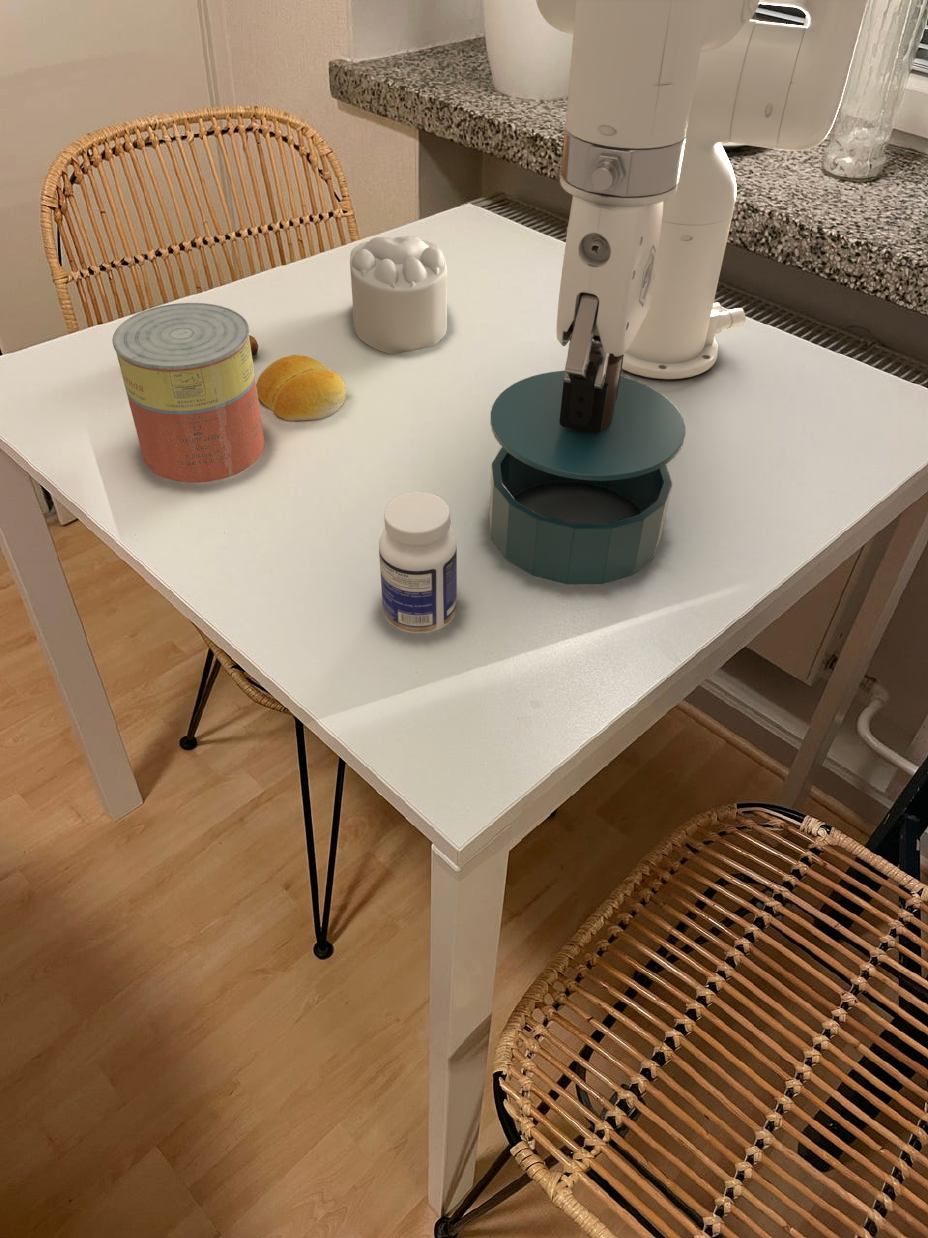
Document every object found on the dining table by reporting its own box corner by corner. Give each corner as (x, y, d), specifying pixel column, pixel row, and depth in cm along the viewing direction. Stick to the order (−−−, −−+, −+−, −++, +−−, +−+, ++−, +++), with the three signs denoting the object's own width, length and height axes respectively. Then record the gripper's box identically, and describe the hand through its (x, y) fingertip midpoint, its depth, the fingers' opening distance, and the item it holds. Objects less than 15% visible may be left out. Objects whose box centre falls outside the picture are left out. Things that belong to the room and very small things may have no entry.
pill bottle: (426, 578, 77) (425, 476, 70) (471, 616, 74) (474, 514, 67) (367, 608, 74) (360, 506, 67) (412, 649, 71) (409, 547, 64)
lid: (618, 368, 81) (629, 294, 77) (722, 460, 72) (742, 382, 67) (458, 403, 77) (460, 326, 72) (546, 507, 67) (554, 426, 62)
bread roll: (295, 435, 91) (291, 399, 88) (246, 397, 96) (240, 361, 93) (365, 406, 95) (363, 370, 92) (314, 370, 100) (310, 335, 97)
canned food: (187, 409, 94) (163, 293, 86) (288, 434, 91) (273, 316, 83) (117, 470, 87) (83, 349, 78) (225, 499, 84) (202, 377, 75)
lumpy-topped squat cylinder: (439, 298, 113) (439, 224, 107) (453, 352, 103) (454, 275, 97) (351, 302, 111) (346, 227, 105) (357, 357, 102) (352, 279, 96)
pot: (603, 468, 88) (612, 410, 84) (691, 561, 79) (706, 501, 75) (462, 505, 84) (463, 445, 80) (538, 608, 75) (544, 547, 70)
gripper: (650, 216, 54) (608, 483, 66) (703, 131, 65) (659, 372, 78) (524, 196, 56) (507, 459, 68) (597, 116, 67) (571, 355, 80)
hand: (588, 411), depth 73 cm, fingers closed on lid, 3 cm apart
